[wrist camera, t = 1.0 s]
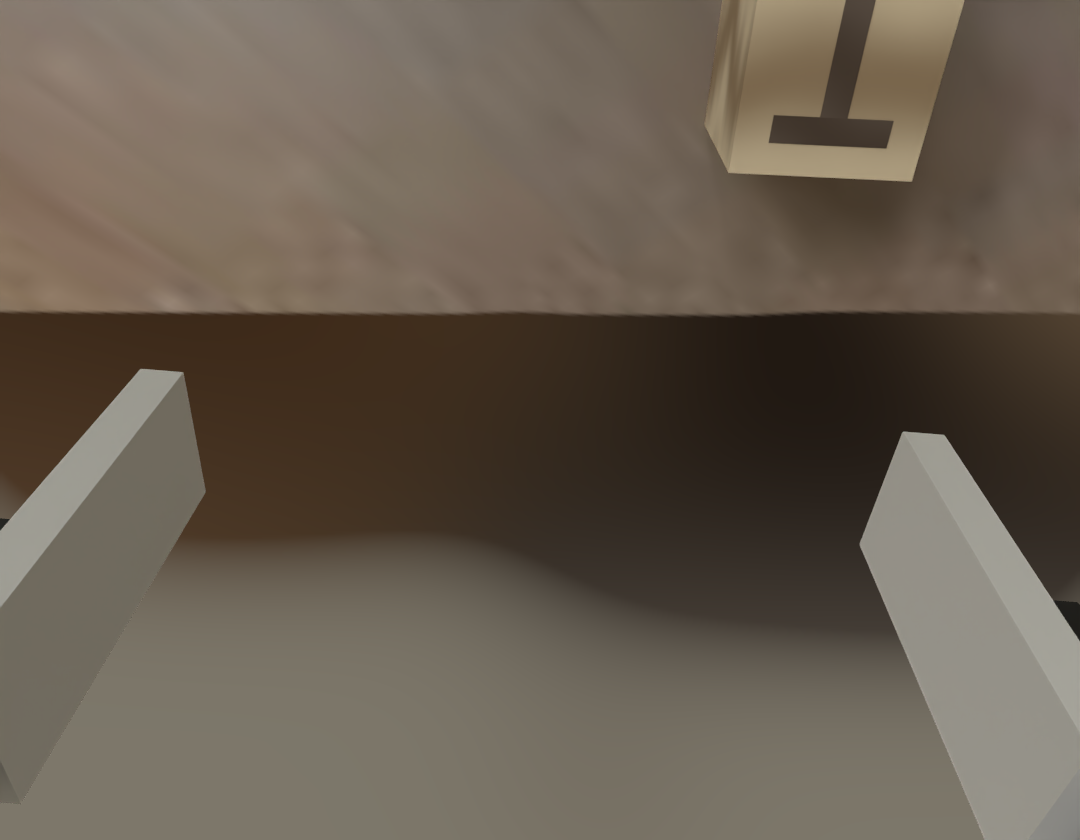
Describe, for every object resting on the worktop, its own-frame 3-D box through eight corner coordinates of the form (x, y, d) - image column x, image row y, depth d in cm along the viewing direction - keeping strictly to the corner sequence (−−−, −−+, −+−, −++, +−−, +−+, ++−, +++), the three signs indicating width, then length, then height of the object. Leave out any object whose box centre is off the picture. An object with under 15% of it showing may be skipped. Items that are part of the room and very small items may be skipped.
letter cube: (730, -53, 34) (763, -35, 28) (902, -45, 34) (972, -25, 28) (704, 124, 38) (728, 172, 32) (859, 132, 38) (912, 181, 32)
